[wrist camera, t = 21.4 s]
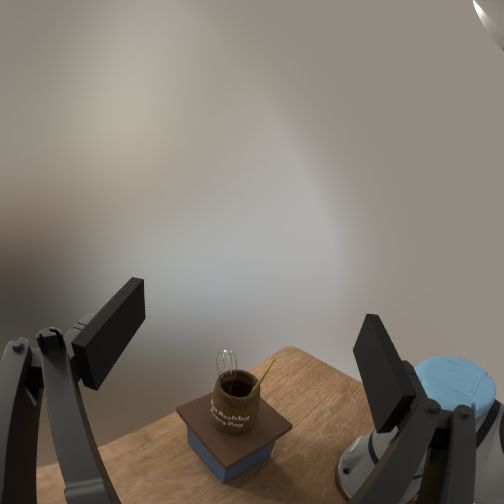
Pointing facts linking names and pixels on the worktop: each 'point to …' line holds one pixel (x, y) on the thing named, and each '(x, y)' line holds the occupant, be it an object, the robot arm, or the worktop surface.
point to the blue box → (231, 438)
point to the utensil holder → (236, 400)
